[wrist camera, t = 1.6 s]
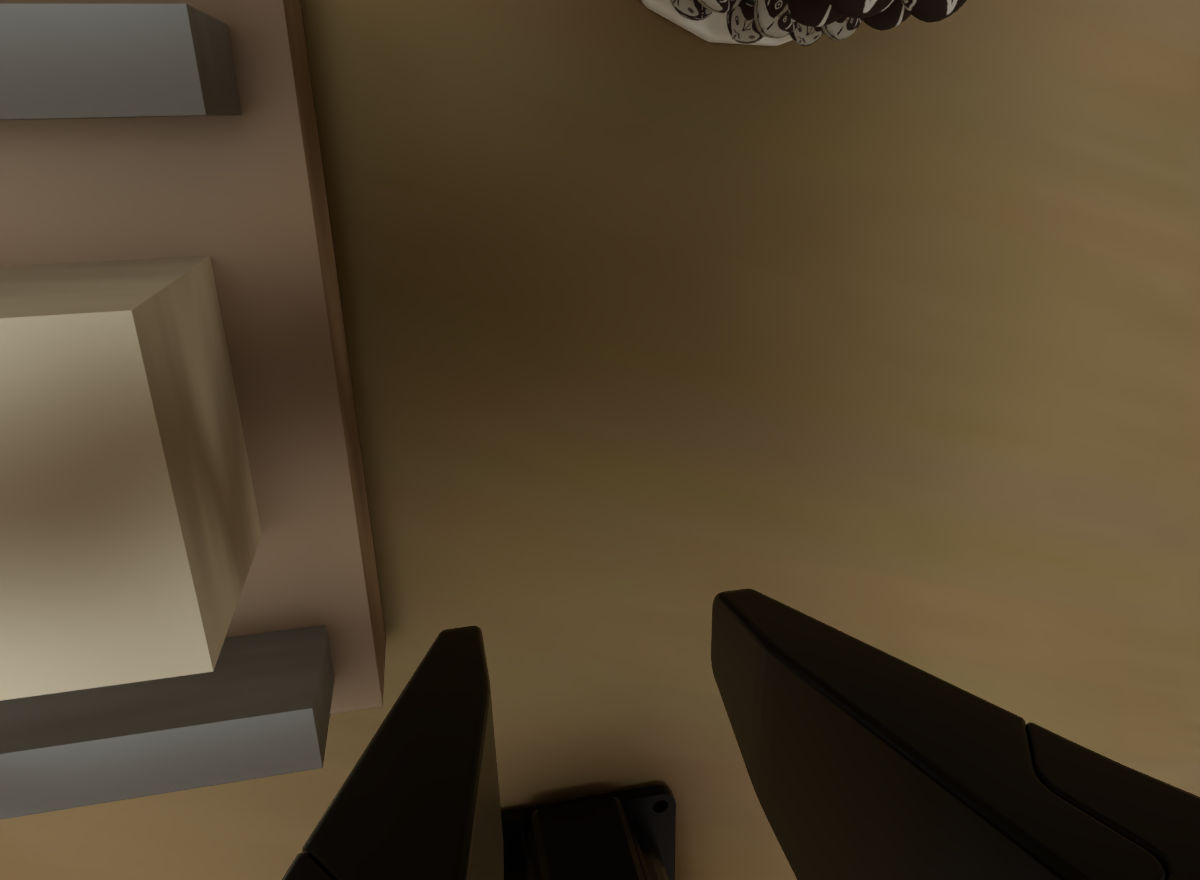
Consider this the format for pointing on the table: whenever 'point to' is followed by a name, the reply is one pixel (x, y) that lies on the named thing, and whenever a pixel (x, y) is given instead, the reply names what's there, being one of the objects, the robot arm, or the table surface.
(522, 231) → the table surface
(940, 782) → the robot arm
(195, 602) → the cream block
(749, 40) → the decorative candle
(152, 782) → the channel board
